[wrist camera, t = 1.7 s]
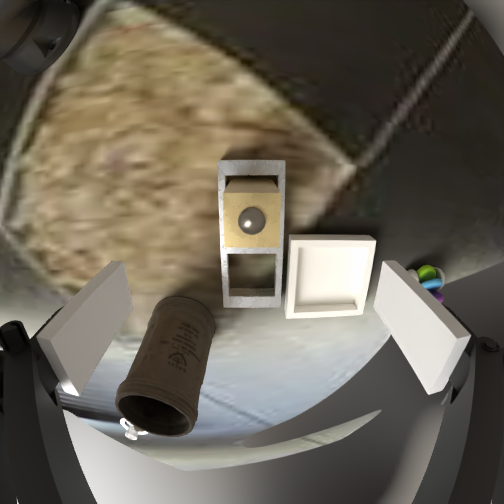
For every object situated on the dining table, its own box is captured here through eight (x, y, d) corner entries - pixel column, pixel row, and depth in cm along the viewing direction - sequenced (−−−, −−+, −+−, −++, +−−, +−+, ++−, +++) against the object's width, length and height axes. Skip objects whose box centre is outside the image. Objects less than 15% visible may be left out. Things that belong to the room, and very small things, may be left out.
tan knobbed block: (232, 178, 34) (222, 193, 23) (271, 178, 34) (281, 193, 23) (232, 216, 36) (224, 248, 25) (270, 216, 36) (279, 248, 25)
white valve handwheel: (130, 413, 54) (125, 425, 50) (155, 428, 56) (152, 440, 52) (116, 420, 56) (111, 431, 52) (139, 435, 58) (136, 446, 54)
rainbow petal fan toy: (389, 312, 42) (407, 336, 36) (401, 260, 39) (424, 280, 32) (426, 307, 42) (445, 329, 36) (439, 259, 39) (463, 277, 32)
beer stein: (161, 281, 40) (108, 380, 22) (226, 306, 41) (208, 417, 23) (145, 344, 46) (109, 431, 28) (198, 364, 47) (179, 457, 29)
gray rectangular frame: (220, 160, 34) (217, 160, 31) (283, 159, 34) (285, 160, 31) (225, 298, 41) (223, 307, 38) (278, 298, 41) (280, 307, 38)
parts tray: (288, 234, 37) (291, 240, 35) (369, 235, 37) (376, 240, 35) (284, 309, 41) (286, 318, 39) (357, 306, 42) (362, 314, 39)
